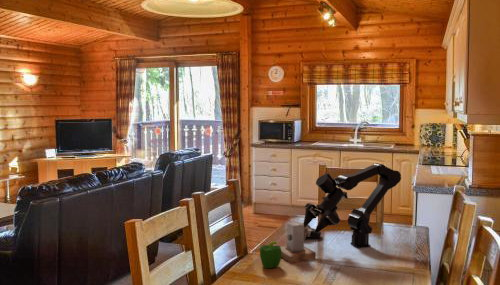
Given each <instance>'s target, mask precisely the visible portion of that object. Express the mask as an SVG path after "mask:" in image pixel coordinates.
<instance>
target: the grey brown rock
mask: <svg viewBox="0 0 500 285" xmlns="http://www.w3.org/2000/svg"><path fill="white" fill-rule="evenodd" d="M301 223H302V224H303V223H304V222H301ZM315 230H316V228H312V227H311V226H310V225H309V224H308V225H307V226H306V227H304V241H306V238H308V237H309V238H313V239H320V238H321V234H322V232H321V231H319V232H318V233H316V232H315Z"/></svg>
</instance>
